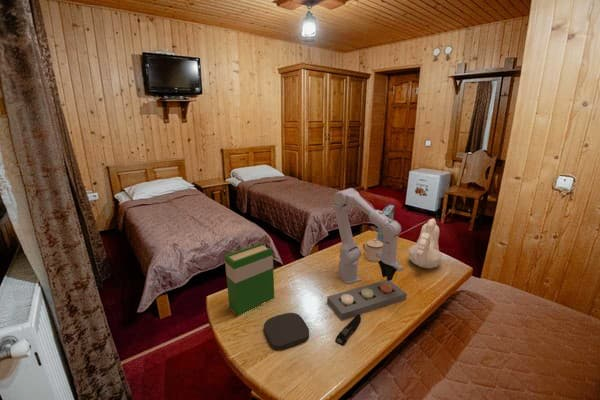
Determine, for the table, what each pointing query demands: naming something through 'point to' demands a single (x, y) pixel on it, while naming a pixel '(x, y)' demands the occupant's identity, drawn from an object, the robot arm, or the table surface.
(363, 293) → the sage button
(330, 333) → the table surface
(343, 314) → the button panel
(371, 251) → the teacup with lid
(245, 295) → the hardback book
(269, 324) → the media streaming box
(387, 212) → the gum box
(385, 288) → the terracotta button
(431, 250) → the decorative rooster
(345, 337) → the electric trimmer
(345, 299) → the cream button
